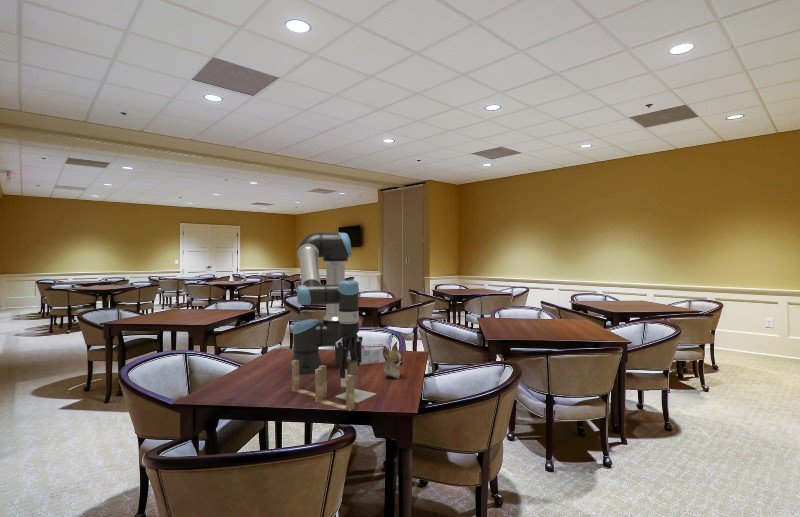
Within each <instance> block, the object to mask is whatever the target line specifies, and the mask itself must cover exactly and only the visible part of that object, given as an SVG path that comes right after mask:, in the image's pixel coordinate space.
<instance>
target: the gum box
mask: <svg viewBox="0 0 800 517" xmlns="http://www.w3.org/2000/svg"><path fill="white" fill-rule="evenodd" d="M384 346H385V344H383V343H374V344H373V343H372V344H362V361H361V363H360V365H373V364H385V358H384V356H383V349H384ZM347 359H351V356H350V350H349V351H348V358H347Z"/></svg>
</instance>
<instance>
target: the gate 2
mask: <svg viewBox="0 0 800 517" xmlns="http://www.w3.org/2000/svg"><path fill="white" fill-rule="evenodd" d="M314 386H315V387H314V393H315V397H314V399H315V400H314V402H315V403H318V404H319V403H320V404H322V405H326V406H329V407H334V408H338V409H342V410H344V411H349V412H351V411H353V410H355V402H354V375H347V376H346V389H345V392H346V400H345V404H342V403H337V402H334V401H330V400H326V399H324V398H323V369H320V368H318V369H315V373H314Z"/></svg>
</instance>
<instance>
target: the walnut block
mask: <svg viewBox="0 0 800 517" xmlns="http://www.w3.org/2000/svg"><path fill="white" fill-rule="evenodd" d="M346 369H348V375H354V389H358V387H359V386H358V385H359V384H358V383H359V381H358V377H359V376H358V375H359V374H358V372H359V370H358V361H357V360H351V359H347V365H346ZM339 378H340V377H339ZM340 383H341V378H340ZM340 389H341V390H342V389H343V390H346V387H343V386H341V385H340Z"/></svg>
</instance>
